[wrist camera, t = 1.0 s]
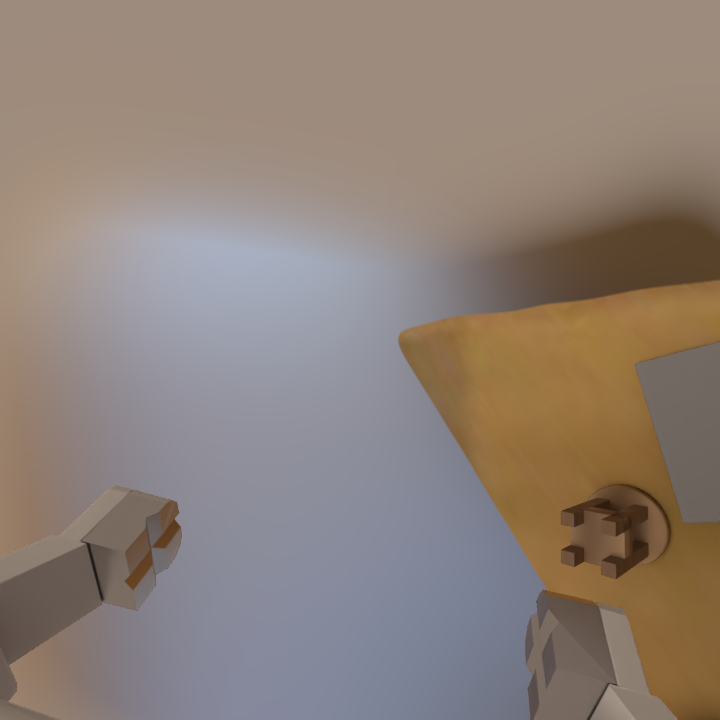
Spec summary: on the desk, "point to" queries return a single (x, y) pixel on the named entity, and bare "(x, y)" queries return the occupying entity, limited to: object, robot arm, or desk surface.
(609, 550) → the stool
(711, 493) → the mat
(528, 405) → the desk surface
